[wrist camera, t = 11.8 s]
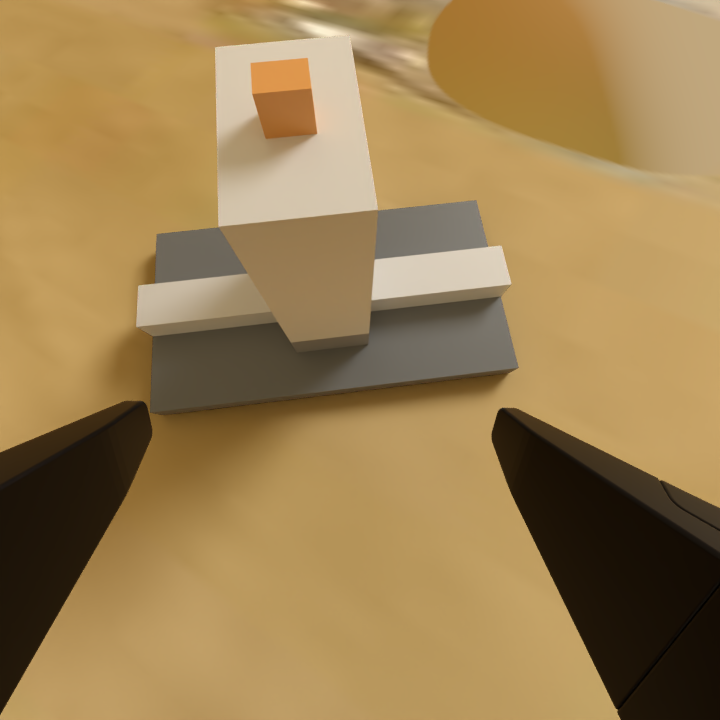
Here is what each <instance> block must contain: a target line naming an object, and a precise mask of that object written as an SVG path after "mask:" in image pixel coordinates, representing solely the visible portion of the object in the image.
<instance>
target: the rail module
mask: <svg viewBox="0 0 720 720" xmlns="http://www.w3.org/2000/svg"><path fill="white" fill-rule="evenodd" d="M215 58H216V112H217V167H218V222H219V228H220V230H221V231H222V233H223V235H224V236H225V238H226V239H227V241H228V243H229V244H230V246H231V247H232V249H233V251H234V252H235V254H236V255H237V257H238V259H239V260H240V262H241V263H242V265H243V267H244V268H245V270H246V272H247V273H248V275H249V276H250V278H251V280H252V281H253V283H254V284H255V286H256V288H257V289H258V291H259V292H260V294H261V296H262V297H263V299H264V300H265V302H266V304H267V305H268V307H269V309H270V310H271V312H272V313H273V315H274V317H275V318H276V320H277V321H278V323H279V325H280V326H281V328H282V329H283V331H284V333H285V334H286V336H287V337H288V339H289V341H290V342H291V344H292V345H293V347H294V349H295V350H296V352H297V353H299V352H307V351H316V350H324V349H333V348H341V347H349V346H358V345H366V344H368V342H369V328H370V314H371V301H372V287H373V273H374V259H375V246H376V232H377V218H378V206H377V200H376V194H375V187H374V181H373V175H372V169H371V163H370V157H369V151H368V144H367V138H366V132H365V126H364V120H363V114H362V108H361V101H360V95H359V89H358V83H357V77H356V71H355V64H354V58H353V52H352V46H351V40H350V35H345V36H334V37H323V38H312V39H301V40H290V41H279V42H268V43H256V44H245V45H234V46H223V47H215Z"/></svg>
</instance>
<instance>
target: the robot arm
mask: <svg viewBox="0 0 720 720" xmlns="http://www.w3.org/2000/svg"><path fill="white" fill-rule="evenodd" d="M151 437H152V426H151V422H150V417H149V413H148V408H147V405H146V404H145V403H144V402H143V401H124V402H121V403H119V404H116V405H114V406H112V407H109V408H107V409H104V410H102V411H99V412H97V413H95V414H92V415H90V416H87V417H85V418H83V419H80V420H78V421H75V422H73V423H70V424H68V425H66V426H63V427H61V428H58V429H56V430H54V431H51V432H49V433H46V434H44V435H41V436H39V437H37V438H34V439H32V440H29V441H27V442H25V443H22V444H20V445H17V446H15V447H12V448H10V449H8V450H5V451H3V452H0V714H1V713H2V711H3V709H4V707H5V706H6V704H7V702H8V700H9V699H10V697H11V695H12V693H13V692H14V690H15V688H16V687H17V685H18V683H19V681H20V680H21V678H22V676H23V674H24V673H25V671H26V669H27V667H28V666H29V664H30V662H31V660H32V659H33V657H34V655H35V653H36V652H37V650H38V648H39V646H40V645H41V643H42V641H43V639H44V638H45V636H46V634H47V633H48V631H49V629H50V627H51V626H52V624H53V622H54V620H55V619H56V617H57V615H58V613H59V612H60V610H61V608H62V606H63V605H64V603H65V601H66V599H67V598H68V596H69V594H70V592H71V591H72V589H73V587H74V585H75V584H76V582H77V580H78V579H79V577H80V575H81V573H82V572H83V570H84V568H85V566H86V565H87V563H88V561H89V559H90V558H91V556H92V554H93V552H94V551H95V549H96V547H97V545H98V544H99V542H100V540H101V538H102V537H103V535H104V533H105V531H106V530H107V528H108V526H109V525H110V523H111V521H112V519H113V518H114V516H115V514H116V512H117V511H118V509H119V507H120V505H121V504H122V502H123V500H124V498H125V496H126V494H127V492H128V490H129V488H130V486H131V484H132V482H133V479H134V477H135V475H136V472H137V470H138V468H139V465H140V463H141V461H142V459H143V456H144V454H145V452H146V449H147V447H148V445H149V443H150V440H151ZM492 443H493V446H494V448H495V451H496V454H497V457H498V459H499V462H500V465H501V468H502V470H503V473H504V476H505V479H506V482H507V484H508V487H509V489H510V492H511V494H512V496H513V498H514V500H515V503H516V505H517V507H518V509H519V511H520V513H521V515H522V517H523V519H524V521H525V523H526V525H527V527H528V529H529V531H530V533H531V535H532V538H533V540H534V542H535V544H536V546H537V548H538V550H539V552H540V554H541V556H542V558H543V560H544V562H545V564H546V566H547V568H548V570H549V572H550V575H551V577H552V579H553V581H554V583H555V585H556V587H557V589H558V591H559V593H560V595H561V597H562V599H563V601H564V603H565V605H566V607H567V609H568V612H569V614H570V616H571V618H572V620H573V622H574V624H575V626H576V628H577V630H578V632H579V634H580V636H581V638H582V640H583V642H584V644H585V646H586V649H587V651H588V653H589V655H590V657H591V659H592V661H593V663H594V665H595V667H596V669H597V671H598V673H599V675H600V677H601V679H602V681H603V683H604V686H605V688H606V690H607V692H608V694H609V696H610V698H611V700H612V702H613V704H614V706H615V708H616V709H617V710H618V711H617V713H618V715H619V717H620V719H621V720H720V508H719V507H716V506H714V505H712V504H710V503H708V502H706V501H704V500H702V499H700V498H697V497H695V496H693V495H691V494H689V493H687V492H685V491H683V490H681V489H679V488H677V487H675V486H673V485H671V484H669V483H667V482H665V481H662V480H661V481H659V479H658V478H656V477H654V476H652V475H650V474H648V473H646V472H644V471H642V470H640V469H638V468H636V467H634V466H632V465H630V464H628V463H626V462H624V461H622V460H620V459H618V458H616V457H614V456H612V455H610V454H608V453H606V452H604V451H602V450H600V449H598V448H596V447H594V446H592V445H590V444H588V443H585V442H583V441H581V440H579V439H577V438H575V437H573V436H571V435H569V434H567V433H565V432H563V431H561V430H559V429H557V428H555V427H553V426H551V425H549V424H547V423H545V422H543V421H541V420H539V419H537V418H535V417H533V416H531V415H529V414H527V413H525V412H523V411H521V410H519V409H516V408H501V409H500V410H499V411H498V413H497V416H496V420H495V423H494V427H493V430H492Z"/></svg>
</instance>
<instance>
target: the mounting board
mask: <svg viewBox="0 0 720 720" xmlns="http://www.w3.org/2000/svg"><path fill="white" fill-rule="evenodd" d="M510 285H511V281H510V277H509V273H508V269H507V265H506V262H505V258H504V254H503V250H502V246H493V247H488V245H487V241H486V237H485V233H484V229H483V225H482V221H481V217H480V213H479V209H478V205H477V201H476V200H475V201H465V202H456V203H446V204H437V205H427V206H418V207H408V208H399V209H390V210H380V211H378V218H377V232H376V246H375V259H374V273H373V287H372V301H371V314H370V328H369V342H368V344H366V345H358V346H349V347H341V348H333V349H324V350H316V351H307V352H299V353H297V352H296V350H295V349H294V347H293V345H292V344H291V342H290V341H289V339H288V337H287V336H286V334H285V333H284V331H283V329H282V328H281V326H280V325H279V323H278V321H277V320H276V318H275V317H274V315H273V313H272V312H271V310H270V309H269V307H268V305H267V304H266V302H265V300H264V299H263V297H262V296H261V294H260V292H259V291H258V289H257V288H256V286H255V284H254V283H253V281H252V280H251V278H250V276H249V275H248V273H247V272H246V270H245V268H244V267H243V265H242V263H241V262H240V260H239V259H238V257H237V255H236V254H235V252H234V251H233V249H232V247H231V246H230V244H229V243H228V241H227V239H226V238H225V236H224V235H223V233H222V231H221V230H220V228H210V229H200V230H191V231H181V232H172V233H162V234H157V241H156V268H155V284H148V285H139V286H138V303H137V322H136V327H137V328H139V329H141V330H142V331H144V332H146V333H148V334H149V335H151V336H153V348H152V375H151V402H150V413H155V414H160V415H167V414H175V413H184V412H192V411H200V410H208V409H216V408H225V407H233V406H241V405H249V404H257V403H266V402H274V401H282V400H290V399H298V398H307V397H315V396H323V395H331V394H339V393H347V392H356V391H364V390H372V389H380V388H388V387H397V386H405V385H413V384H421V383H429V382H438V381H446V380H454V379H462V378H470V377H479V376H487V375H495V374H503V373H510V372H512V371H514V370H515V369H517V368H519V367H518V364H517V360H516V356H515V352H514V348H513V344H512V340H511V336H510V332H509V328H508V324H507V320H506V316H505V312H504V308H503V304H502V300H501V296H502V294H503V293H504V292H505V291H506V290H507V289H508V288H509V287H510Z"/></svg>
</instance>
